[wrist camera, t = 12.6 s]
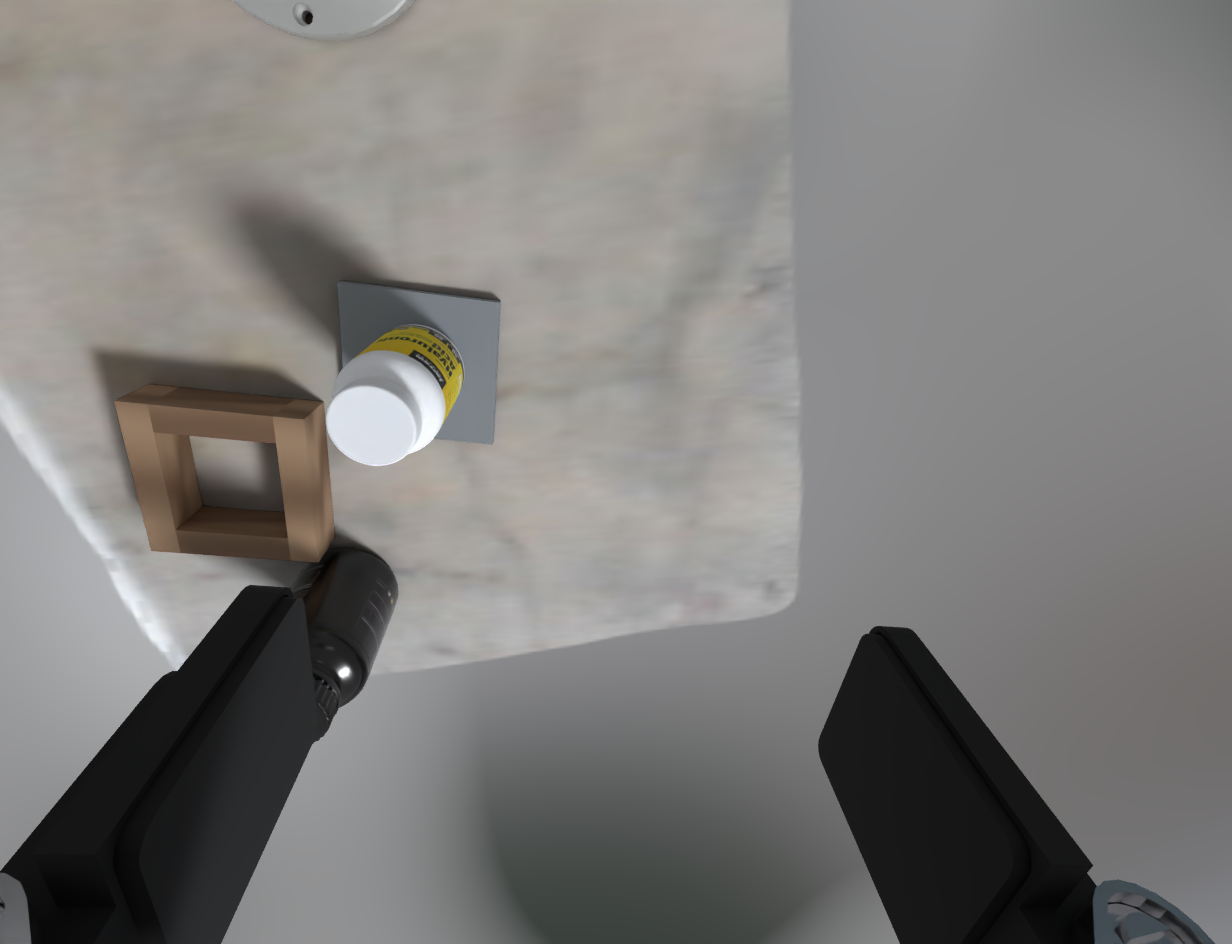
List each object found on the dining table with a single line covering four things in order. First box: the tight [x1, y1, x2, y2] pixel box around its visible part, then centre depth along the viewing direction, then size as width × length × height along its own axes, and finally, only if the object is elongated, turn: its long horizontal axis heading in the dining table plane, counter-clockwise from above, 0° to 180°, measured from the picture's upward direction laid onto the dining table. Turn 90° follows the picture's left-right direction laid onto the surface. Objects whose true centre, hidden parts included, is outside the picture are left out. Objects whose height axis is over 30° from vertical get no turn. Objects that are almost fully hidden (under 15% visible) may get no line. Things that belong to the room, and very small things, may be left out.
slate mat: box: [337, 281, 501, 444], centre depth 36 cm, size 9×9×1 cm
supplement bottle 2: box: [290, 548, 398, 744], centre depth 37 cm, size 7×7×12 cm
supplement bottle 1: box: [326, 324, 464, 466], centre depth 31 cm, size 5×5×10 cm
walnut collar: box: [114, 384, 335, 562], centre depth 37 cm, size 10×10×3 cm
